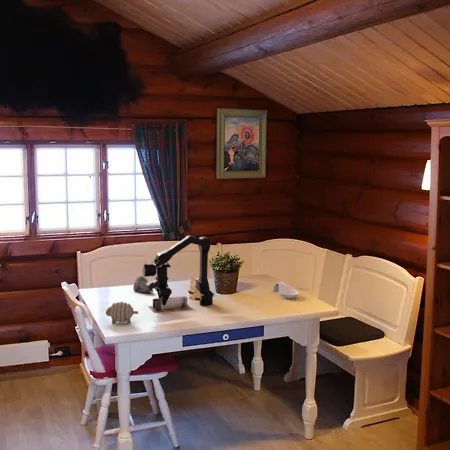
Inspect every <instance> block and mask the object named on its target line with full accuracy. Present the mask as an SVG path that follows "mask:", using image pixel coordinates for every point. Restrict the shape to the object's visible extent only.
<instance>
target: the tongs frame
mask: <svg viewBox="0 0 450 450" xmlns="http://www.w3.org/2000/svg"><path fill="white" fill-rule="evenodd" d="M181 297H184V306H185V307H186V306H187V304H188V297H187V296H186V295H185V296H175V297H174V296H172V297H171V296H169V298H168V299H174V298H181ZM159 300H162V298H159V297H157V298H152V306H153V308H155V301H159Z"/></svg>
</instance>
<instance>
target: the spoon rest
mask: <svg viewBox="0 0 450 450" xmlns="http://www.w3.org/2000/svg"><path fill="white" fill-rule="evenodd" d="M272 292H279V295H280V297H282V298H283V299H287V300H293V299H296V298H297V297H298V296H299V295H300V292H299V291H298V290H297V289H295V288H293V287H292V286H291V285H289V284H287V283H285V282H284V281H280V282H275V283H274V285H273V287H272Z"/></svg>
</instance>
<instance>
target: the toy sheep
mask: <svg viewBox="0 0 450 450" xmlns="http://www.w3.org/2000/svg"><path fill="white" fill-rule="evenodd" d="M138 314H139V311H138V310H134V308H133V307H132V305H131V303H127V302H123V301H120V302H119V301H117V302H113V303H112V304H111V306H109V307H107V308H106V310H105V315H106V316H107V317H111V318H110V319H111V325H115V322H118V323H125V324H126V325H127V324H128V325H129V323H131V318H132V317H133V315H138Z"/></svg>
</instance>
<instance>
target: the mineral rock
mask: <svg viewBox="0 0 450 450" xmlns="http://www.w3.org/2000/svg"><path fill="white" fill-rule="evenodd" d="M148 282H149V281H148V279H147V278H145V277H144V276H143V275H140V276H137V277H136V279H135V280H134V284H133V289H132V290H133V291H134V292H139V293H151V292H152V293H153V292H154V289H152V290H149V289H148V287H147V283H148Z"/></svg>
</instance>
